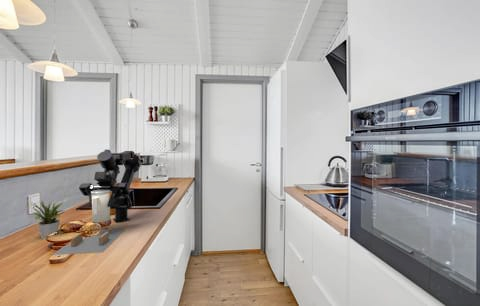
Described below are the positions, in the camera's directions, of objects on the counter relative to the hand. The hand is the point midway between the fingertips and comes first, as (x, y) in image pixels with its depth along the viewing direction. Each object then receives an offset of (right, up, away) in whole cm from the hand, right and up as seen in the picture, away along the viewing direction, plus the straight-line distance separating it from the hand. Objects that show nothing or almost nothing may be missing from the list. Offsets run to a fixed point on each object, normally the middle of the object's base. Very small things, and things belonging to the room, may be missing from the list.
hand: (99, 206), depth 99 cm
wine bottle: (-15, -12, +36) cm, 41 cm away
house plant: (-22, -13, +1) cm, 26 cm away
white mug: (0, -6, +2) cm, 6 cm away
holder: (+1, -13, -5) cm, 14 cm away
